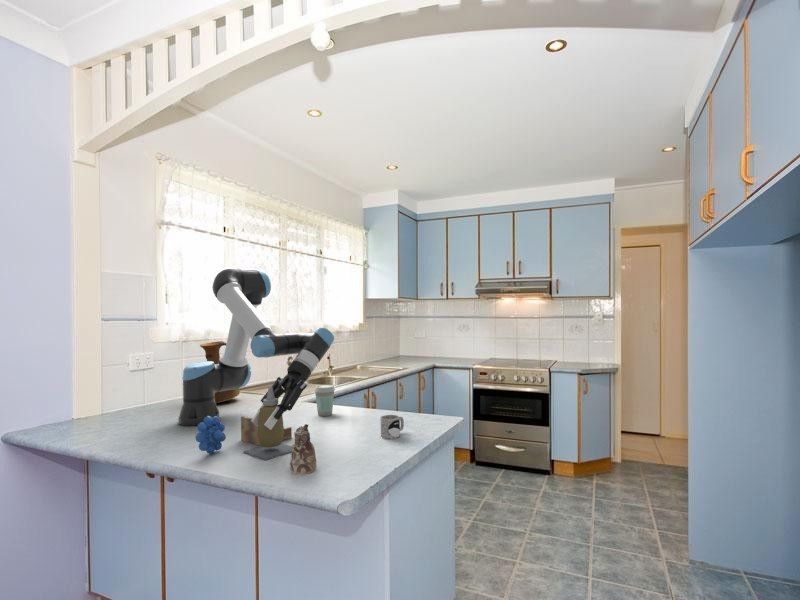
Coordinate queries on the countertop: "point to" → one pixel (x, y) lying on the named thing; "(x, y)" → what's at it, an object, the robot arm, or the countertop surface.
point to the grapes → (210, 434)
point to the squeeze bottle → (265, 435)
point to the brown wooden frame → (256, 431)
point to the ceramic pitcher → (213, 356)
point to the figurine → (302, 452)
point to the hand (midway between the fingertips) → (260, 425)
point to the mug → (391, 426)
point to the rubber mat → (269, 451)
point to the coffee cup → (324, 399)
